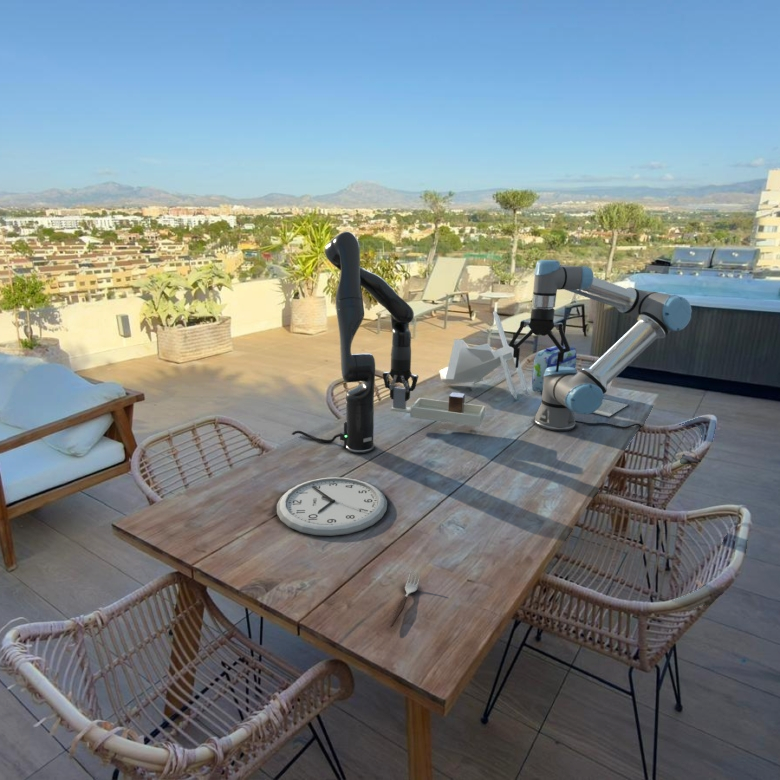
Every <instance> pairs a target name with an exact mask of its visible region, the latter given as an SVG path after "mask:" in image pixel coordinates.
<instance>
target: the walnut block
mask: <svg viewBox="0 0 780 780" xmlns="http://www.w3.org/2000/svg"><path fill="white" fill-rule="evenodd" d="M465 400H466V393H462V392H453V391H452V392H451V393H450V394H449V396H448V401H449V409H448V411H449V412H457V413H464V403H465Z"/></svg>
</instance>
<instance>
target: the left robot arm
mask: <svg viewBox="0 0 780 780" xmlns="http://www.w3.org/2000/svg"><path fill="white" fill-rule="evenodd" d="M324 254H325V257H326V259H327V260H328V261H329V263H331V264H332V265H333V266H334V267H335V268H336V269H338V270H340V276H339V281H338V284H337V288H336V292H335V300H334V301H335V310H336V319H337V326H338V327H337V328H338V333H339V348H340V351H339V353H340V370H341V376H342V379H343V381H344V382H345V383H360V384H359V385H357V386H356V387H354V388H352V389H350V390H348V391H347V392H346V393H345V406H346V407H345V408H346V409H345V412H346V414H345V415H346V420H345V421H344V422H343V431H342V432H340V433H337V434H335V435H334V436H333V437H332V438H331V439H323V438H319V437H316V436H314V435H311V434H308V433H306V432H305V431H302V430H294V431H293V432H291V435H293V436H295V435H297V434H299V435H302V436H305V437H307V438H309V439H311V440H314V441H316V442H321V443H325V444H326V443H328V444H329V443H333V442H334V441H336V439H337V438H338V437H339V440H340V441H343V448H344V449H346V451H348V452H350V453H353V454H367V453H370V452H372V451H373V450H374V448H375V444H374V432H375V431H374V424H375V423H374V420H375V418H374V415H375V414H374V413H375V411H374V410H375V408H374V407H375V405H374V404H375V383H376V382H375V379H376V360H375V357H374V355H373V354H372V353H369V352H367V353H352V344H353V341H354V338H355V337H356V334H357V332H358V331H359V329H360V327H361V325H362V323H363V321H364V317H365V305H364V298H363V291H362V288H363V289H364V290H365V291H366V292H367V293H369V295H370V296H371V297H372V298H373V299H374V300H375V301H376V302H377V303H378V304H379V305H380V306H381V307H383V308H385V309H386V310H387V311H388V313H389V314H390V322H391V330H392V334H391V336H392V337H391V350H390V370H389V371H384V372H383V373H382V379H383V383H384V387H385V389H389V398H391V400H393V388H394V387H396V385H397V384H402V385H403V388H405V390H406V392H405V401H407V402H408V401H409V400H410V399H411V392H414V391H415V390H416V386H417V383H418V379H419V375H418V374H412V373H413V372H412V371H411V369H412V367H411V366H412V332H411V330H410V323H412V321H413V320H414V317H415V313H414V310H413V308H412V307H411V306H410V304H409V303H407V302H406V301H405V300H404V299H403V298H402V297H401V296H400V295H398V293H397V292H396V291H395V290H394V289H393V288H392V286H391V285H389V283H387V281H386V280H384V278H383V277H381V276H379V275H378V274H375V273H373V272H371V271H369V270H366V269H365V268H363V267H361V249H360V244H359V241H358V239H357V237H356V235H354V234H353V233H352V232H351V231H343V232H340V233H339V234H338V235H336V236H335V237H334V238H333V239H331V240H330V241H329V242H328V243H326V245H325V248H324ZM390 377H391V379H392V381H391V382H390ZM410 378H411V381H412V382H411V386H410V381H409V379H410Z"/></svg>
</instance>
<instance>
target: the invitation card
mask: <svg viewBox="0 0 780 780" xmlns="http://www.w3.org/2000/svg"><path fill="white" fill-rule="evenodd" d="M628 406H629V404H627V403H623V402H618V401H614V400H609V399H605V398H604V399H603V400H602V404H601V406H600V407H599V408H598V409H597V410H596V411H595V412H593V413H592V414H596V415H600V416H604V417H608V418H609V417H611V416H613V415H614V414H616V413H617V412H619V411H621V410H623V409H624V408H626V407H628Z"/></svg>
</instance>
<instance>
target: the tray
mask: <svg viewBox="0 0 780 780" xmlns="http://www.w3.org/2000/svg"><path fill="white" fill-rule="evenodd" d="M405 392H406V390H405V387H400V386H399V387H398V386H395V387H394V388H393V399H392V407H390V411H391V412H397V413H398V412H399V413H404V414H409V415H410V416H409V418H414V419H420V420H421V419H422V420H426V421H427V420H428V421H429V420H430V421H436V422H441V423H442V422H443V423H451V424H458V425H464V426H471V427H479V428H480V426H481V425H482V422H483V420H484V417H485V413H486V405H480V404H472V403H466V402H464V413H457V412H449V411H448V409H449V400H441V399H432V398H426V397H418V398H417V399H416V400H415V401H414V403H413V404H412V405H411V406H410V407H409V406H407V402H408V401H405Z"/></svg>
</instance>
